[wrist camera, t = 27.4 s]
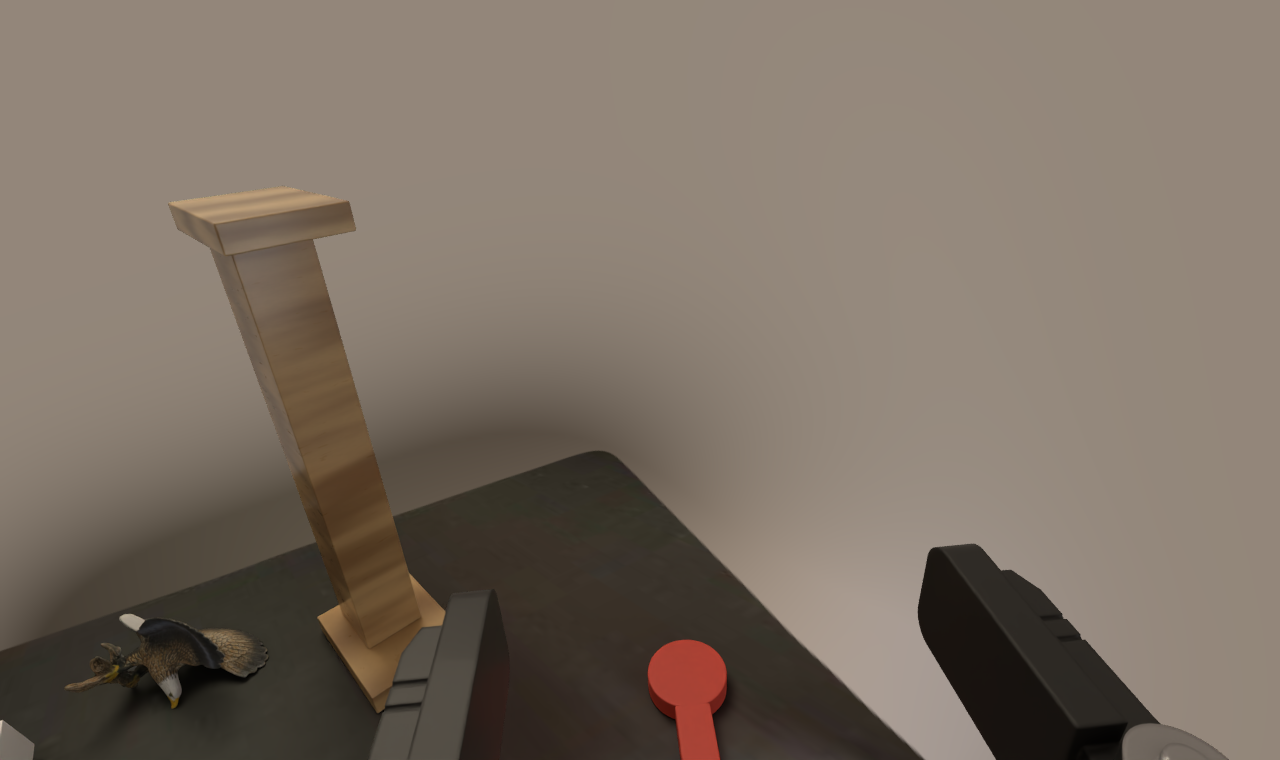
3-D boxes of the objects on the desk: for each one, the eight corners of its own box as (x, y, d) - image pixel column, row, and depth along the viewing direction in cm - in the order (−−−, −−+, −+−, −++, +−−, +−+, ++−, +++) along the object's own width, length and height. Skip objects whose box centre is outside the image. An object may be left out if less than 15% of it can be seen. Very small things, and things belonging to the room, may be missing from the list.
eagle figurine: (80, 753, 38) (230, 693, 40) (48, 641, 39) (197, 586, 40) (160, 704, 46) (284, 655, 47) (132, 611, 46) (255, 566, 48)
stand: (470, 649, 45) (359, 199, 31) (377, 714, 41) (199, 225, 27) (408, 581, 52) (293, 184, 38) (322, 631, 48) (156, 204, 34)
